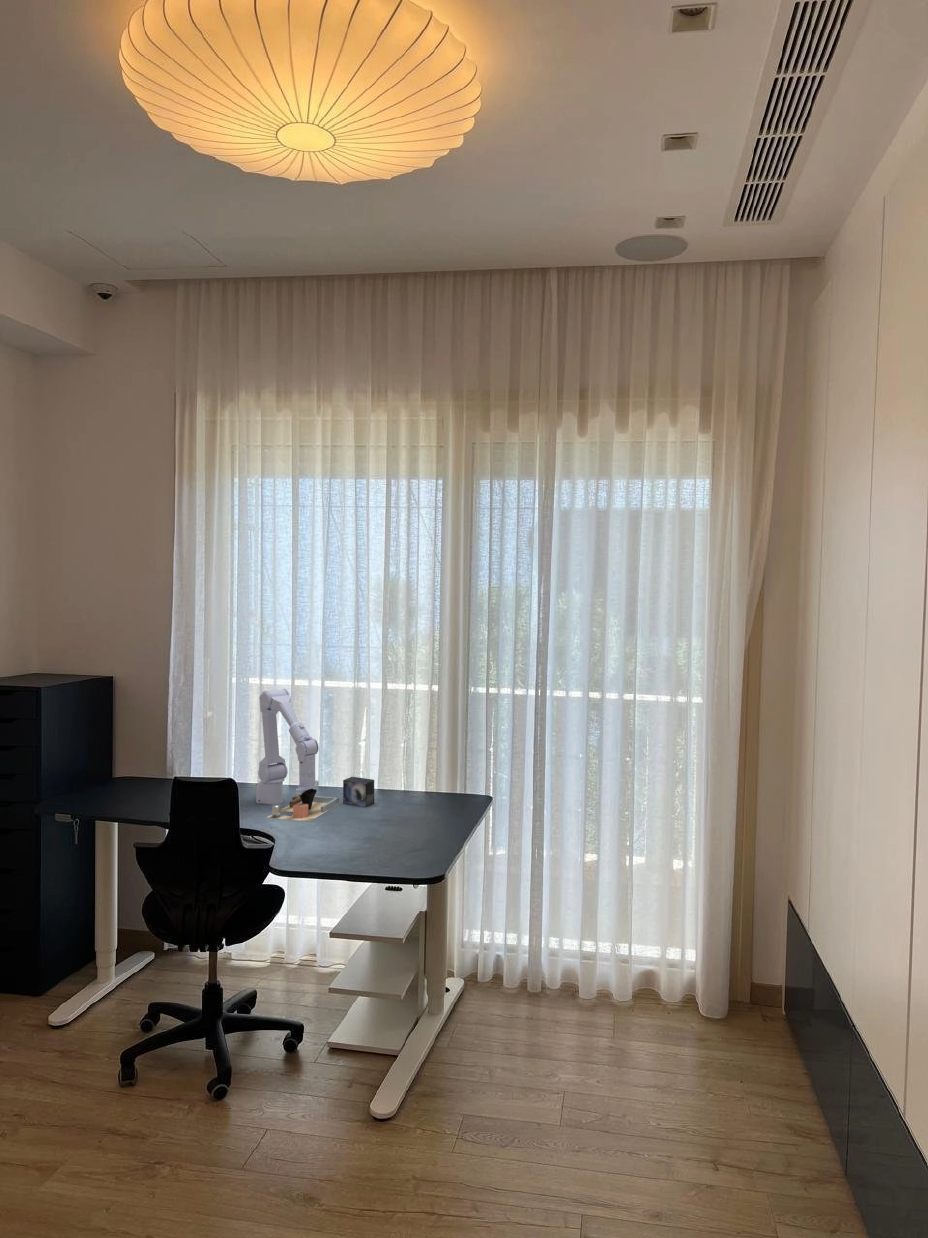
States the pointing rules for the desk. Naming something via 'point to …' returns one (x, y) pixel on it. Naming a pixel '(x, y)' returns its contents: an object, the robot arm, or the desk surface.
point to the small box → (358, 791)
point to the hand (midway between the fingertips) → (307, 809)
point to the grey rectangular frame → (328, 800)
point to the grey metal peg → (276, 811)
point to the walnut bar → (295, 801)
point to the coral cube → (300, 810)
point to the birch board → (312, 813)
